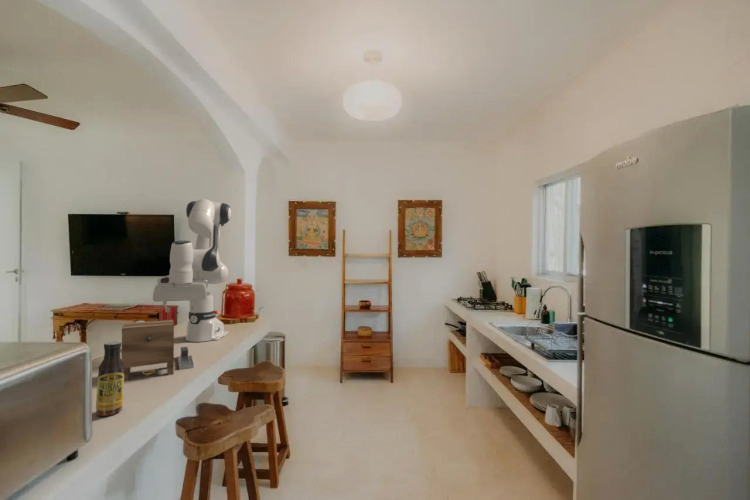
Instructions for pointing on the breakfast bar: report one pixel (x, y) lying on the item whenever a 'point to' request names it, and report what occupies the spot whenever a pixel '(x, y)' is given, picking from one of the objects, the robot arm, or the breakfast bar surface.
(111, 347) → the sauce bottle
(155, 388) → the breakfast bar surface
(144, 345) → the walnut cabinet
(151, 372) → the brass disc
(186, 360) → the scraper
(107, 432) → the breakfast bar surface
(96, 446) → the breakfast bar surface
